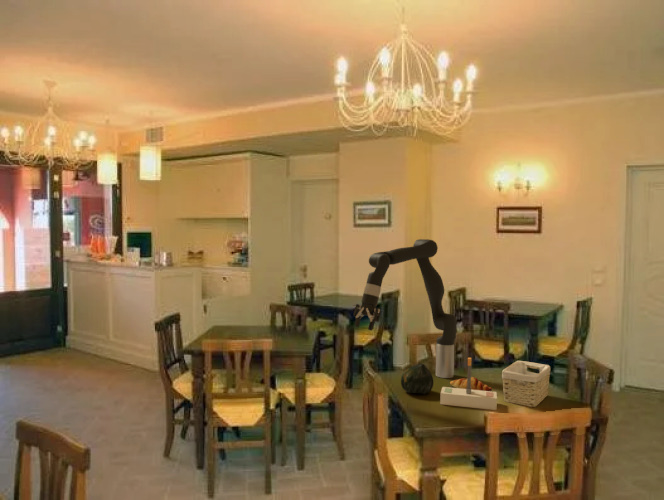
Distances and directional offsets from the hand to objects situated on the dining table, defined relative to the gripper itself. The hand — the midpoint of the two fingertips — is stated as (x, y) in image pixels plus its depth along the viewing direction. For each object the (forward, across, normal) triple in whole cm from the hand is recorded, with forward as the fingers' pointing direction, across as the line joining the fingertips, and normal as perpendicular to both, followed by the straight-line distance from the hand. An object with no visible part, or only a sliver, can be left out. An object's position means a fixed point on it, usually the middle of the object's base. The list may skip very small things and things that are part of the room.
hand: (363, 328), depth 254 cm
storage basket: (+13, -56, -59) cm, 82 cm away
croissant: (+16, -31, -51) cm, 62 cm away
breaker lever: (+16, -42, -32) cm, 55 cm away
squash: (+23, -17, -30) cm, 41 cm away
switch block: (+20, -40, -37) cm, 58 cm away
